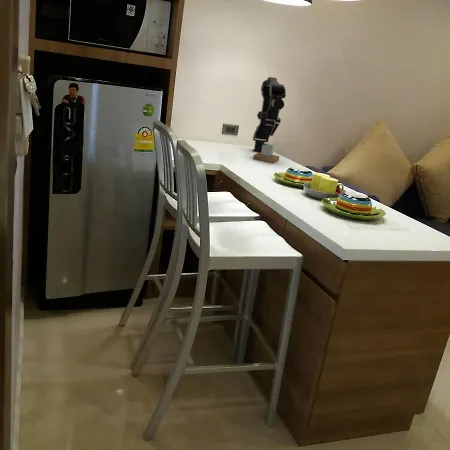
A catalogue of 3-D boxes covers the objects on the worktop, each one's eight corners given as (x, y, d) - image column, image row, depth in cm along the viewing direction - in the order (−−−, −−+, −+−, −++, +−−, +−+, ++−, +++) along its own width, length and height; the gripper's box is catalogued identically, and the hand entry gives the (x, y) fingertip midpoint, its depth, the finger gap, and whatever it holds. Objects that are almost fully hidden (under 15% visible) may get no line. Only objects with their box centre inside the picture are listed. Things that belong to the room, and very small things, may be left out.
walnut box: (257, 157, 295) (258, 152, 294) (278, 161, 292) (279, 156, 291) (252, 160, 284) (253, 155, 283) (274, 164, 281) (275, 159, 280)
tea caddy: (262, 154, 290) (264, 143, 288) (272, 155, 289) (274, 145, 287) (260, 155, 285) (262, 144, 283) (270, 157, 283) (272, 146, 282)
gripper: (263, 104, 289) (259, 132, 294) (255, 106, 272) (251, 135, 277) (283, 108, 287) (278, 136, 291) (276, 109, 269) (271, 139, 274)
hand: (269, 136), depth 284 cm, fingers open, 9 cm apart
